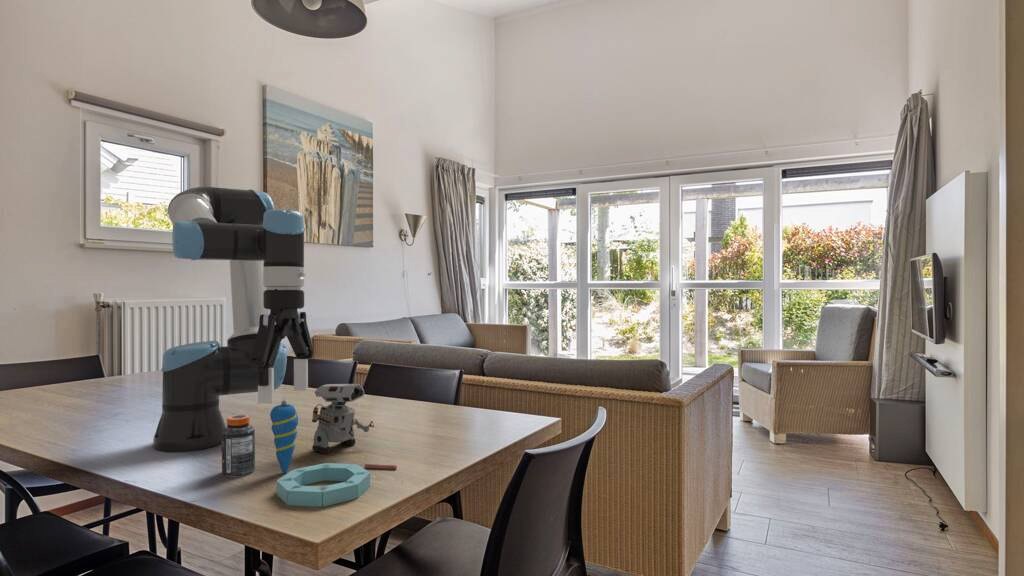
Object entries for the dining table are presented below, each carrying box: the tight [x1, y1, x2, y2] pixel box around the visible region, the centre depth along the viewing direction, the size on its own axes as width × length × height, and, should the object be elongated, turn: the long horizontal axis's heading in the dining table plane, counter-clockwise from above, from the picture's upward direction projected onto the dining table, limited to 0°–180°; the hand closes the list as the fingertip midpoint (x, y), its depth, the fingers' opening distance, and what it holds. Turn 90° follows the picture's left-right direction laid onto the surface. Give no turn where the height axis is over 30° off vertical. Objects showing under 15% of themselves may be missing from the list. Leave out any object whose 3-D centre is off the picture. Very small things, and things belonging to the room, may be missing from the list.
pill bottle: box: [221, 414, 256, 478], centre depth 114 cm, size 6×6×11 cm
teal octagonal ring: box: [276, 462, 371, 508], centre depth 105 cm, size 15×15×2 cm
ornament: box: [269, 397, 299, 475], centre depth 114 cm, size 5×5×15 cm
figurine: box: [311, 383, 375, 455], centre depth 130 cm, size 9×12×15 cm
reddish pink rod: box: [363, 463, 398, 470], centre depth 117 cm, size 7×1×1 cm, turn 83°
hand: (284, 396), depth 114 cm, fingers open, 13 cm apart
